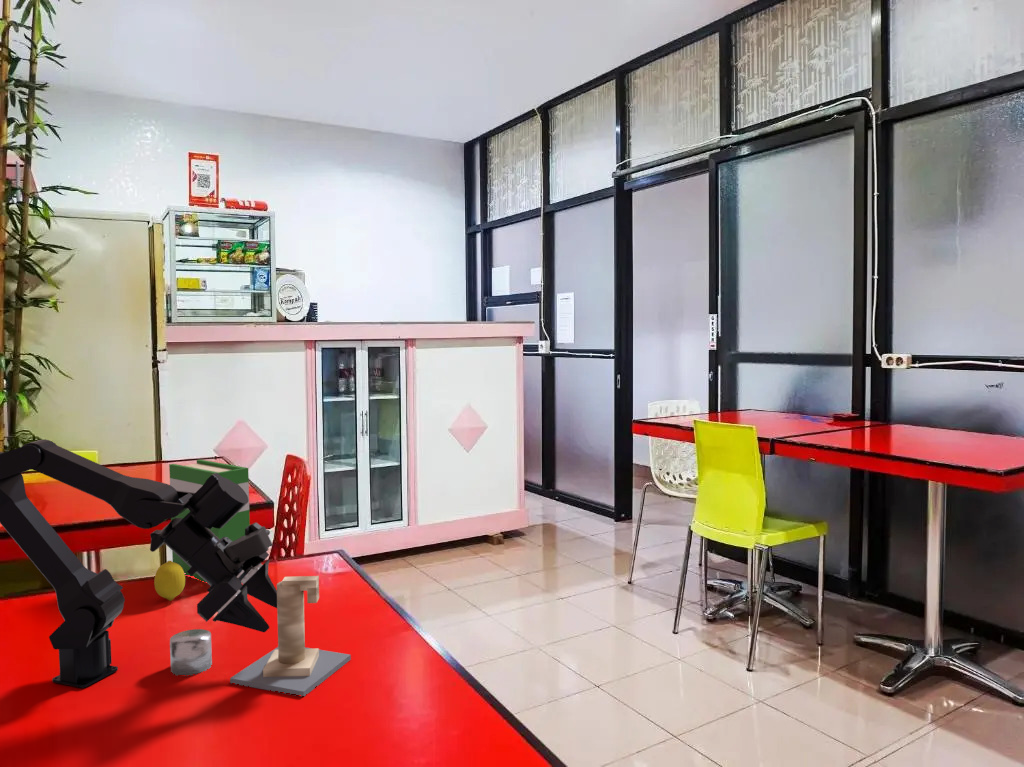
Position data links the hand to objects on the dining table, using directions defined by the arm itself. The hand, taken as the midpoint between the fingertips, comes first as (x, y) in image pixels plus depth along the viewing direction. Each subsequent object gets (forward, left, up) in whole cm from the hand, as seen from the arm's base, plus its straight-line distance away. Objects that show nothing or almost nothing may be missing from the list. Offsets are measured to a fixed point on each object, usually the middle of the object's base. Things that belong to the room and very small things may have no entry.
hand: (274, 617), depth 116 cm
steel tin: (-3, +14, -9) cm, 16 cm away
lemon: (+19, +39, -9) cm, 44 cm away
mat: (+1, -2, -9) cm, 9 cm away
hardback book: (+34, +42, -9) cm, 54 cm away
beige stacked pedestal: (+1, -2, -8) cm, 8 cm away
